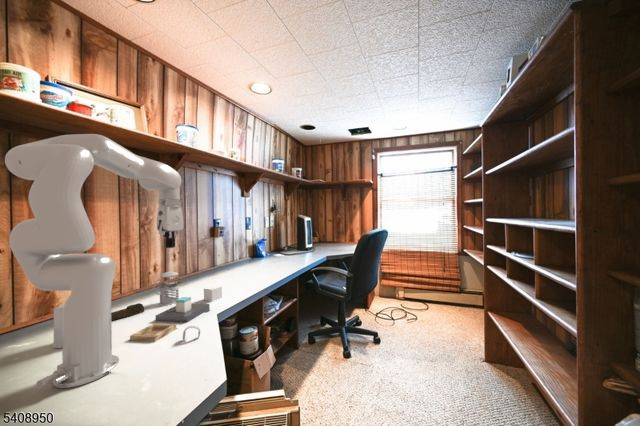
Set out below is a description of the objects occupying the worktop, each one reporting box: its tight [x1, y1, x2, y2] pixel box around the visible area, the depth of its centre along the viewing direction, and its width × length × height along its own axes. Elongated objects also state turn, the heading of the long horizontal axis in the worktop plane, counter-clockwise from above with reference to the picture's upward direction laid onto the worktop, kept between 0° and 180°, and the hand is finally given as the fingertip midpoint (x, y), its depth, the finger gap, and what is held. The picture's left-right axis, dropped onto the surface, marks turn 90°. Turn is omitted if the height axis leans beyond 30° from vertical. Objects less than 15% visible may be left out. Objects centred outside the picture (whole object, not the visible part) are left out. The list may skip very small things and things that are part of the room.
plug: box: [175, 296, 192, 312], centre depth 101 cm, size 4×4×7 cm
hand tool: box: [111, 303, 145, 322], centre depth 101 cm, size 19×4×5 cm, turn 141°
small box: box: [53, 304, 64, 349], centre depth 82 cm, size 8×6×13 cm
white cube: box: [203, 285, 223, 302], centre depth 123 cm, size 6×6×6 cm
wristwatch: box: [182, 325, 201, 342], centre depth 80 cm, size 3×5×5 cm, turn 111°
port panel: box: [154, 302, 211, 323], centre depth 101 cm, size 14×14×3 cm
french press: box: [152, 251, 180, 307], centre depth 120 cm, size 10×12×25 cm
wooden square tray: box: [128, 323, 179, 343], centre depth 84 cm, size 10×10×2 cm
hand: (170, 247), depth 102 cm, fingers closed
